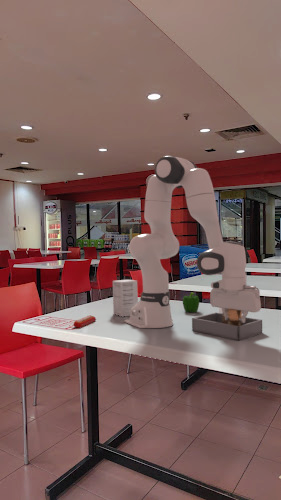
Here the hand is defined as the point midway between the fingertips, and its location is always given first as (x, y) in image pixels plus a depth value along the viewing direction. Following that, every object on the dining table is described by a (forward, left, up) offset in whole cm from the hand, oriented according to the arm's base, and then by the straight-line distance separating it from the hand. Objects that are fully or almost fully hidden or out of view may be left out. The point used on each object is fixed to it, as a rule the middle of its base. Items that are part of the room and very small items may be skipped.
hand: (234, 321), depth 139 cm
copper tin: (0, 0, -2) cm, 2 cm away
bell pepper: (-42, +24, -6) cm, 49 cm away
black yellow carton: (-24, +30, -6) cm, 39 cm away
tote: (-6, +2, -5) cm, 8 cm away
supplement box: (-61, -3, -6) cm, 61 cm away
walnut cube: (-6, +6, -5) cm, 10 cm away
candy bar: (-58, -29, -6) cm, 65 cm away
